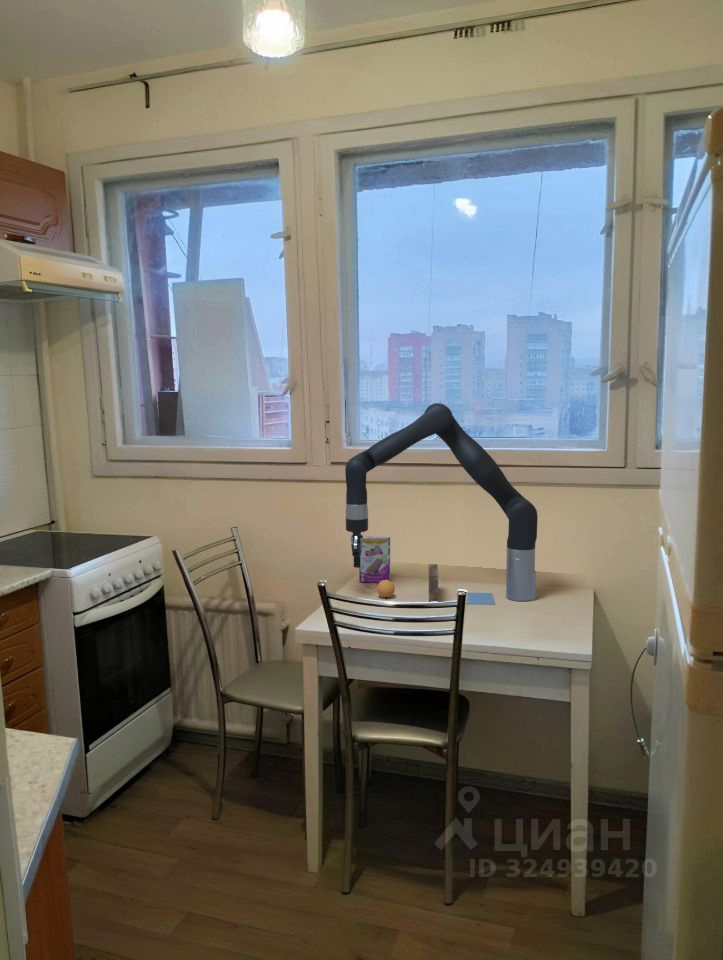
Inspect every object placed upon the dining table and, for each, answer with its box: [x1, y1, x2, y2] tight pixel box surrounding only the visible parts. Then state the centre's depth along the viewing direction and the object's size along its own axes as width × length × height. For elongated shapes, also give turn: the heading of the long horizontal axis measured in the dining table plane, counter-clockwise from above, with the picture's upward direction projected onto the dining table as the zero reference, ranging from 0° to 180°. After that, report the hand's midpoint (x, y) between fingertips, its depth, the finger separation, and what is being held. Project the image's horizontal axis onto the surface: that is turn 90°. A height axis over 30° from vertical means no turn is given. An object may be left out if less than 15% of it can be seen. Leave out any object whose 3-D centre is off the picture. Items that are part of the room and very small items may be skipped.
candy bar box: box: [358, 536, 391, 584], centre depth 257 cm, size 11×5×16 cm, turn 84°
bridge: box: [428, 563, 439, 603], centre depth 237 cm, size 3×15×10 cm, turn 175°
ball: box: [376, 580, 396, 599], centre depth 238 cm, size 6×6×6 cm
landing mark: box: [466, 592, 496, 605], centre depth 236 cm, size 12×12×1 cm
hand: (357, 566), depth 238 cm, fingers closed
